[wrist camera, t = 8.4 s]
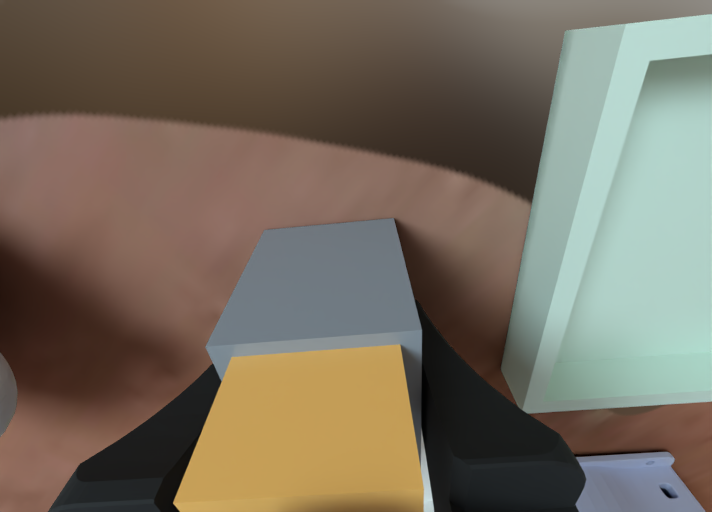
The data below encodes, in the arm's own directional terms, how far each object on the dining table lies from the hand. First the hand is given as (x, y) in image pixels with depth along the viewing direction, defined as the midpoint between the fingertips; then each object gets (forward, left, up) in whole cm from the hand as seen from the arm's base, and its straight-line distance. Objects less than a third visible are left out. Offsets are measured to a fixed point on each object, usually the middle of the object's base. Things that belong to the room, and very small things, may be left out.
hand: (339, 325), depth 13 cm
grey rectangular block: (0, +1, -2) cm, 2 cm away
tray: (-14, -2, -2) cm, 14 cm away
